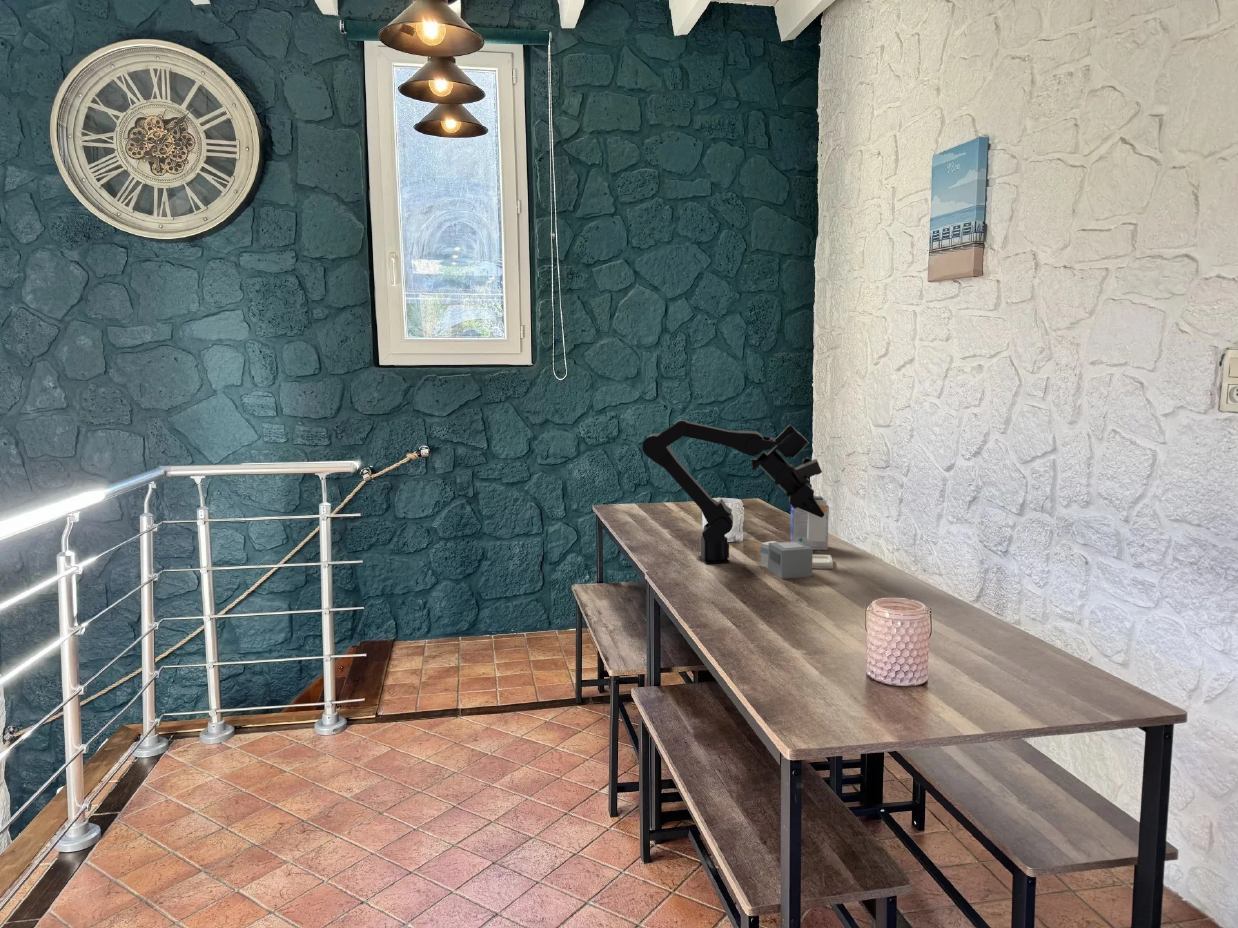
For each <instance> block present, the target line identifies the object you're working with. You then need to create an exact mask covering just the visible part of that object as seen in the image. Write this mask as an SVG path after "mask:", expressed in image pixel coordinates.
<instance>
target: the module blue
mask: <svg viewBox="0 0 1238 928" xmlns="http://www.w3.org/2000/svg"><path fill="white" fill-rule="evenodd" d="M774 542H777V541H775V540H770V541H765V542H760V567H762V568H763V567H764V568H766V569H768V548H769V543H774Z"/></svg>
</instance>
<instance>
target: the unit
mask: <svg viewBox="0 0 1238 928" xmlns="http://www.w3.org/2000/svg"><path fill="white" fill-rule="evenodd" d="M812 557H813V548H811V547H809V546H807V545H805V544H803V543H801V542H799V541H791V540H790V541H776V542H774V543H769V548H768V568H767V570H768V572H770V573H772V574H773V575H775V576H776V577H778V578H780V579H781V580H785V579H797V578H811V577H813V568H812Z"/></svg>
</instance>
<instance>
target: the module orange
mask: <svg viewBox="0 0 1238 928" xmlns="http://www.w3.org/2000/svg"><path fill="white" fill-rule="evenodd" d="M814 500H815V501H816V503H817V504H818V505H819V507H820V508H821V510H822V511H823V513H824V516H823V517H822V518H821V517H819V516H816V515H814V514H812V513H810V512H808V526H807V539H808V541H821V542H825V532H826V511H827V506H828V504H827V499H826V497H823V496H819V495H817V496H816V495H814Z"/></svg>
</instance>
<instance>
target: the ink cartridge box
mask: <svg viewBox="0 0 1238 928" xmlns="http://www.w3.org/2000/svg"><path fill="white" fill-rule="evenodd" d="M829 510H830V507H829V505H827V511H826V532H825V542H821V541H808V539H807V526H808V512H807V511H805V510H802V509H800V508H794V507H793V506H792V505H791V504H790V541H799V542H801V543H803V544H805V545H807V546H809V547H811V548H813V550H828V545H829V517H830V516H829V514H830V511H829Z"/></svg>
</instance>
